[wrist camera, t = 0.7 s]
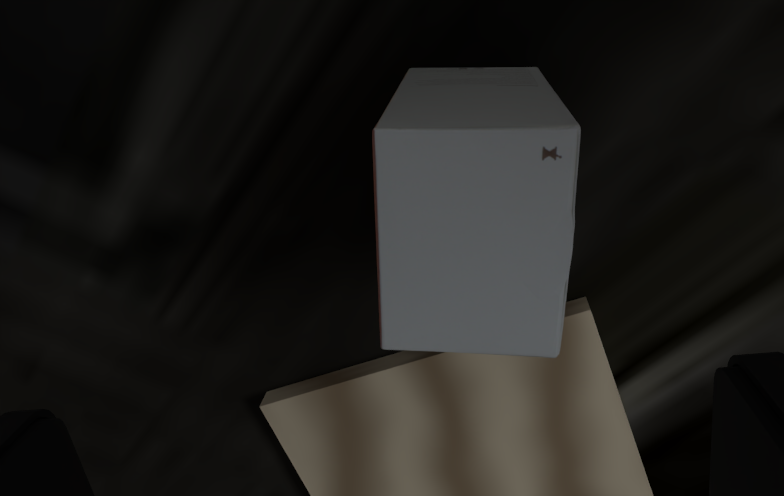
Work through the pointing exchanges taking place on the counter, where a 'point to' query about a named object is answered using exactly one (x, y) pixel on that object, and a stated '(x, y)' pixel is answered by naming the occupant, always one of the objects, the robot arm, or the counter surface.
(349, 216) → the counter surface
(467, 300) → the small box
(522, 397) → the birch board
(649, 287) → the counter surface
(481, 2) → the counter surface
